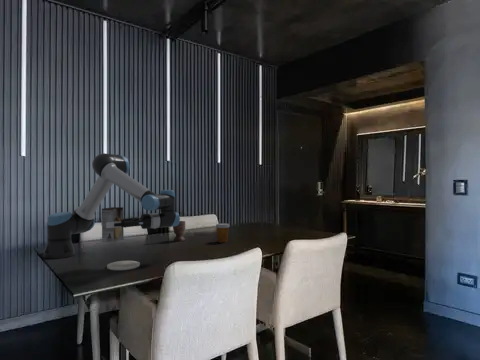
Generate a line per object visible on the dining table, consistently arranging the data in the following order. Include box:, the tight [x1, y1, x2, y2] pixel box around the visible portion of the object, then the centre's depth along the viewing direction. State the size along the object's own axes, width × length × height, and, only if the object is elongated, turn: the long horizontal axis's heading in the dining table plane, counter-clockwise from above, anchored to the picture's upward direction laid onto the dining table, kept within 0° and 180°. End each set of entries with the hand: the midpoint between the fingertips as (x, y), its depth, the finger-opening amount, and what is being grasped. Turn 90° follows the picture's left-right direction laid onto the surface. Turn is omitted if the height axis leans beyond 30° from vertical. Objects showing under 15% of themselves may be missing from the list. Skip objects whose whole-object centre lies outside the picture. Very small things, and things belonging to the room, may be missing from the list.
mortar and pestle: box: [172, 220, 186, 242], centre depth 238 cm, size 12×9×20 cm
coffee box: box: [101, 206, 125, 244], centre depth 167 cm, size 9×6×16 cm
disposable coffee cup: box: [215, 222, 230, 243], centre depth 235 cm, size 10×10×12 cm
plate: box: [106, 260, 141, 271], centre depth 167 cm, size 15×15×1 cm
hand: (103, 224), depth 165 cm, fingers closed on coffee box, 10 cm apart
